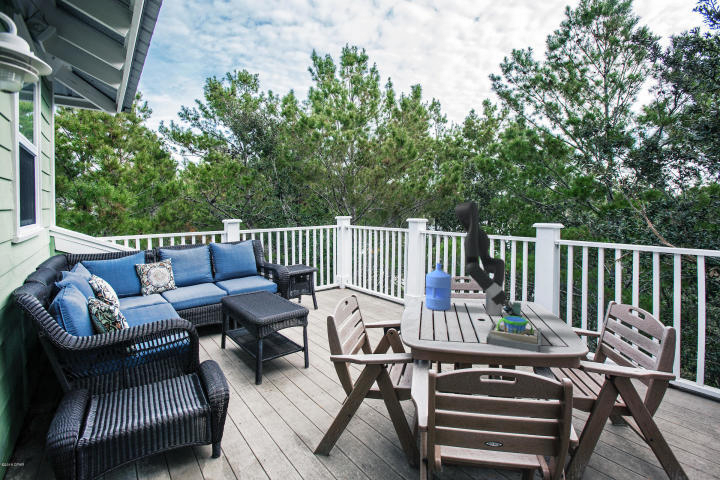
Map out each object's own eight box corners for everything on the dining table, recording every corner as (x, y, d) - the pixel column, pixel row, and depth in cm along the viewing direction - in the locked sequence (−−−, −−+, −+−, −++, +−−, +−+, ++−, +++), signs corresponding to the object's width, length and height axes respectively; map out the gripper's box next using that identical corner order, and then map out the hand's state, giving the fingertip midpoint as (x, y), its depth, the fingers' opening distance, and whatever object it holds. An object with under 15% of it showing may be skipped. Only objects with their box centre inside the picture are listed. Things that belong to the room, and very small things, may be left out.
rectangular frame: (493, 327, 190) (493, 322, 190) (540, 334, 180) (540, 328, 180) (486, 343, 167) (486, 337, 167) (540, 352, 157) (540, 345, 157)
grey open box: (495, 327, 189) (496, 300, 188) (537, 333, 181) (538, 304, 180) (490, 341, 169) (491, 311, 168) (536, 349, 160) (538, 316, 159)
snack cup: (530, 337, 175) (531, 317, 174) (534, 345, 165) (534, 323, 164) (496, 334, 180) (496, 314, 179) (497, 341, 170) (498, 320, 169)
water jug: (431, 303, 240) (432, 261, 238) (454, 306, 231) (455, 263, 229) (421, 308, 228) (421, 264, 225) (444, 312, 218) (445, 266, 216)
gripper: (500, 291, 179) (525, 318, 174) (502, 286, 192) (526, 311, 187) (488, 301, 182) (513, 328, 177) (492, 295, 194) (515, 320, 190)
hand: (520, 319), depth 182 cm, fingers open, 5 cm apart
